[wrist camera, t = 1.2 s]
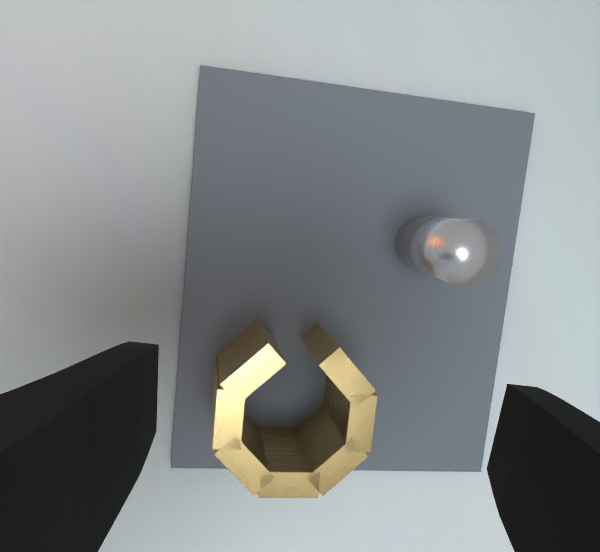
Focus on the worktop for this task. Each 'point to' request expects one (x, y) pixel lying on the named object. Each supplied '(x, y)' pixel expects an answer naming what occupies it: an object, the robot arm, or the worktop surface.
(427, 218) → the piston post
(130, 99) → the worktop surface
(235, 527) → the worktop surface
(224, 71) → the mat
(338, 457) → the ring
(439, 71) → the worktop surface
